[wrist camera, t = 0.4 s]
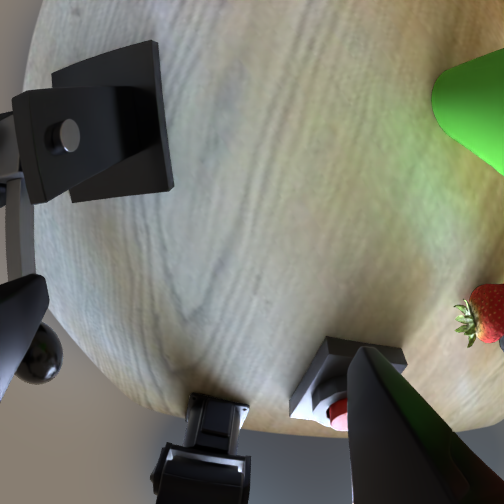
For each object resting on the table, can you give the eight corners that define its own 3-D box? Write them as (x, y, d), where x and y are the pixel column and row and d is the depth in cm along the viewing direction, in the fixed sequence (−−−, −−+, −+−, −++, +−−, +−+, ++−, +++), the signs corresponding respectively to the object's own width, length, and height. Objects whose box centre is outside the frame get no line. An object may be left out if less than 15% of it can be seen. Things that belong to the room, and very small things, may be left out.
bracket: (174, 186, 20) (95, 268, 11) (80, 198, 21) (-16, 269, 12) (158, 42, 16) (55, 7, 6) (60, 73, 16) (-55, 84, 7)
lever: (80, 376, 12) (43, 401, 9) (38, 366, 13) (1, 386, 10) (68, 122, 12) (28, 102, 9) (27, 136, 12) (-12, 122, 9)
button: (356, 417, 26) (358, 432, 24) (322, 414, 26) (324, 430, 24) (374, 396, 24) (378, 412, 23) (339, 393, 24) (341, 409, 22)
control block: (355, 408, 31) (360, 437, 27) (289, 400, 30) (289, 431, 27) (401, 348, 26) (413, 379, 22) (325, 335, 25) (331, 370, 22)
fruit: (541, 299, 15) (460, 346, 19) (535, 325, 18) (465, 364, 22) (515, 252, 19) (441, 295, 23) (515, 283, 22) (450, 319, 26)
